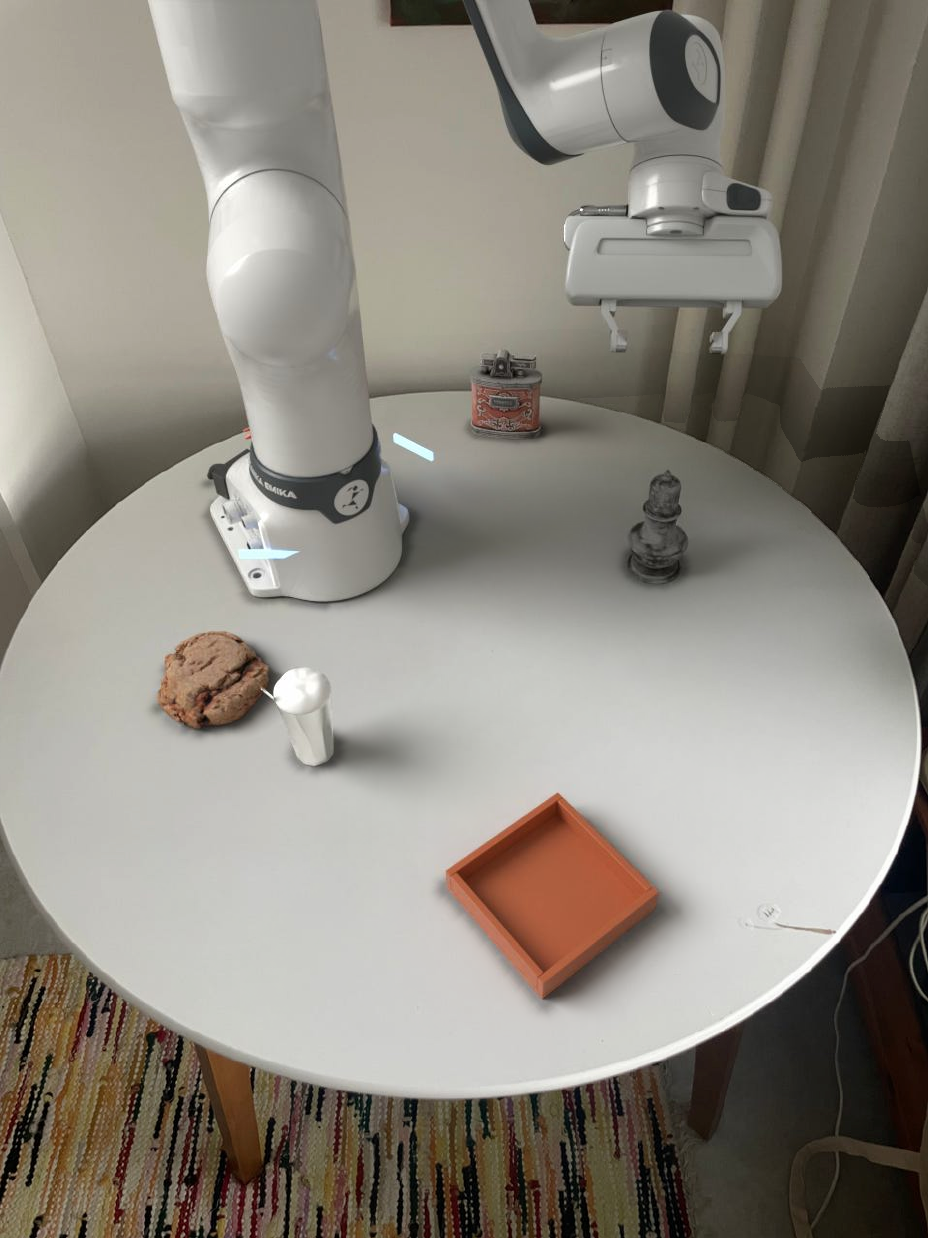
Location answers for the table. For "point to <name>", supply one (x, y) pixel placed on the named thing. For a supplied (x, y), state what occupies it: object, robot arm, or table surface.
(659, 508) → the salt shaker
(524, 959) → the tray
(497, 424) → the lighter
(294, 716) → the milkshake cup
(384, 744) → the table surface
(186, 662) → the cookie
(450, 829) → the table surface
